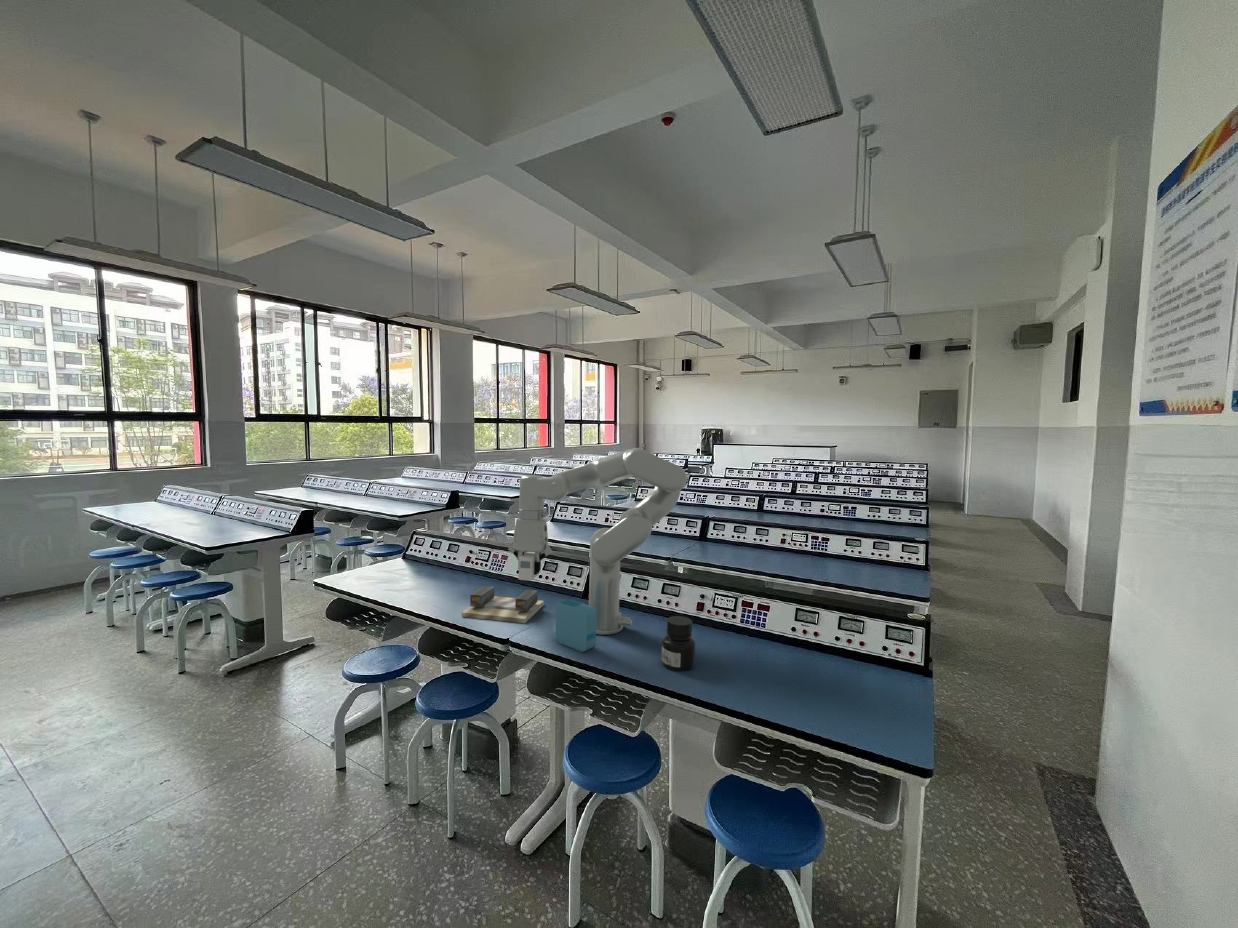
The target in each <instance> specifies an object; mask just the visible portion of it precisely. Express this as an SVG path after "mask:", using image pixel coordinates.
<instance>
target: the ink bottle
mask: <svg viewBox="0 0 1238 928" xmlns="http://www.w3.org/2000/svg"><path fill="white" fill-rule="evenodd" d="M665 630H666V635H664V636H663V638H662V640H661V664H662V665H663V666H664V667H665V668H667V669H668V668H671V669H674V670H673V671H675V670H684V671H688V670H687V669H689V668H692V667H693V666H694V667H695V665H696V640H695V639H694V638H693V637H692V634H693V621H692V619H690V618H689V617H686V616H681V615H674V616H670V617H667V619H666V629H665ZM694 667H693V668H694ZM693 668H692V669H693ZM671 669H670V670H671ZM689 670H690V669H689Z"/></svg>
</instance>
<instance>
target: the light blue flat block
mask: <svg viewBox="0 0 1238 928" xmlns="http://www.w3.org/2000/svg"><path fill="white" fill-rule="evenodd" d="M596 620H597V612H596V609H595V608H594V607H593V606H590V605H589V604H586V603H582V602H579V601H576V600H572V599H570V598H569V599H566V600H563V601H560V602H558V603H557V604H556V606H555V640H556V642H557V643H558V644H560V645H563V646H566V647H568V648H570V649H574V650H576V651H579V652H582V653H584V652H586V651H589V650H590V649H592V648H595V646H596V644H597V634H596Z"/></svg>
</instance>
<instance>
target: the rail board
mask: <svg viewBox="0 0 1238 928" xmlns="http://www.w3.org/2000/svg"><path fill="white" fill-rule="evenodd" d="M469 598H470V601H469V603H470V604H469V605H470V606H468V607H467V608H466V609H464V610H463V611H462V612H461V618H471V619H480V620H489V621H490V620H491V621H499V622H507V623H508V622H510V623H517V624H518V623H519V624H526V623H527V622H528V621H529V620H530V619H531V618H532V617H533V616H535V614H537V612H538V611H539V610H541V609H542V607H543V606H545V605H544V604H545V601H544V600H540V599H538V590H533V589H526V590H524V591H523V592H522V593H521V594H519V595H518V596H517V597H507V596H506V597H505V596H497V595H495V586H490V585H488V586H487V585H483V586H482V587H480V588H478V589H477V590H475V591H474V592H472V593H471V594H470V597H469Z"/></svg>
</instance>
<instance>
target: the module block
mask: <svg viewBox="0 0 1238 928" xmlns="http://www.w3.org/2000/svg"><path fill="white" fill-rule="evenodd" d="M535 562H536V558H535V552H526V551H525V554H523V555H522V556H520V557H519V561H518V565H519V569H518V580H520V581H528V582H529V581H530V582H532V580H534V579H535V578H537V576H539V575H540V573H541V571H540V572H539V573H538V574H537V575H534V563H535Z"/></svg>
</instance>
